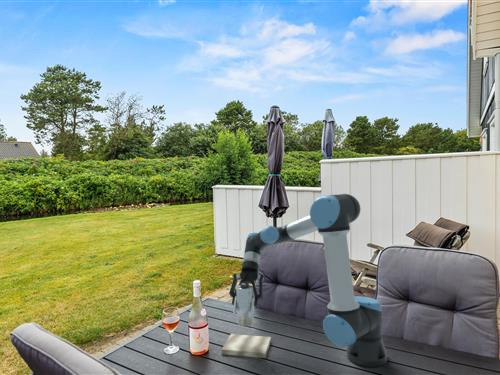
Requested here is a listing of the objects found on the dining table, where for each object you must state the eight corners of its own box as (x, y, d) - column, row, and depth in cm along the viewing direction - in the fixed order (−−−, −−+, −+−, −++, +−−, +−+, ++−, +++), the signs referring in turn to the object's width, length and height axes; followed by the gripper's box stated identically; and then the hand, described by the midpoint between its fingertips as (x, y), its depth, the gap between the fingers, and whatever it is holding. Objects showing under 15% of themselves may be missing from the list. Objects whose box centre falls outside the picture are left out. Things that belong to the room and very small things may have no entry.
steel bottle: (255, 319, 147) (254, 281, 147) (251, 326, 140) (250, 286, 140) (239, 318, 149) (238, 280, 148) (235, 325, 142) (234, 285, 141)
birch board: (270, 341, 149) (270, 337, 149) (265, 358, 135) (265, 353, 135) (231, 338, 153) (231, 333, 153) (221, 354, 139) (221, 349, 139)
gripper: (273, 269, 157) (268, 318, 141) (231, 267, 161) (222, 315, 146) (271, 260, 151) (265, 310, 136) (228, 259, 156) (217, 307, 140)
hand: (243, 313), depth 141 cm, fingers closed on steel bottle, 7 cm apart
